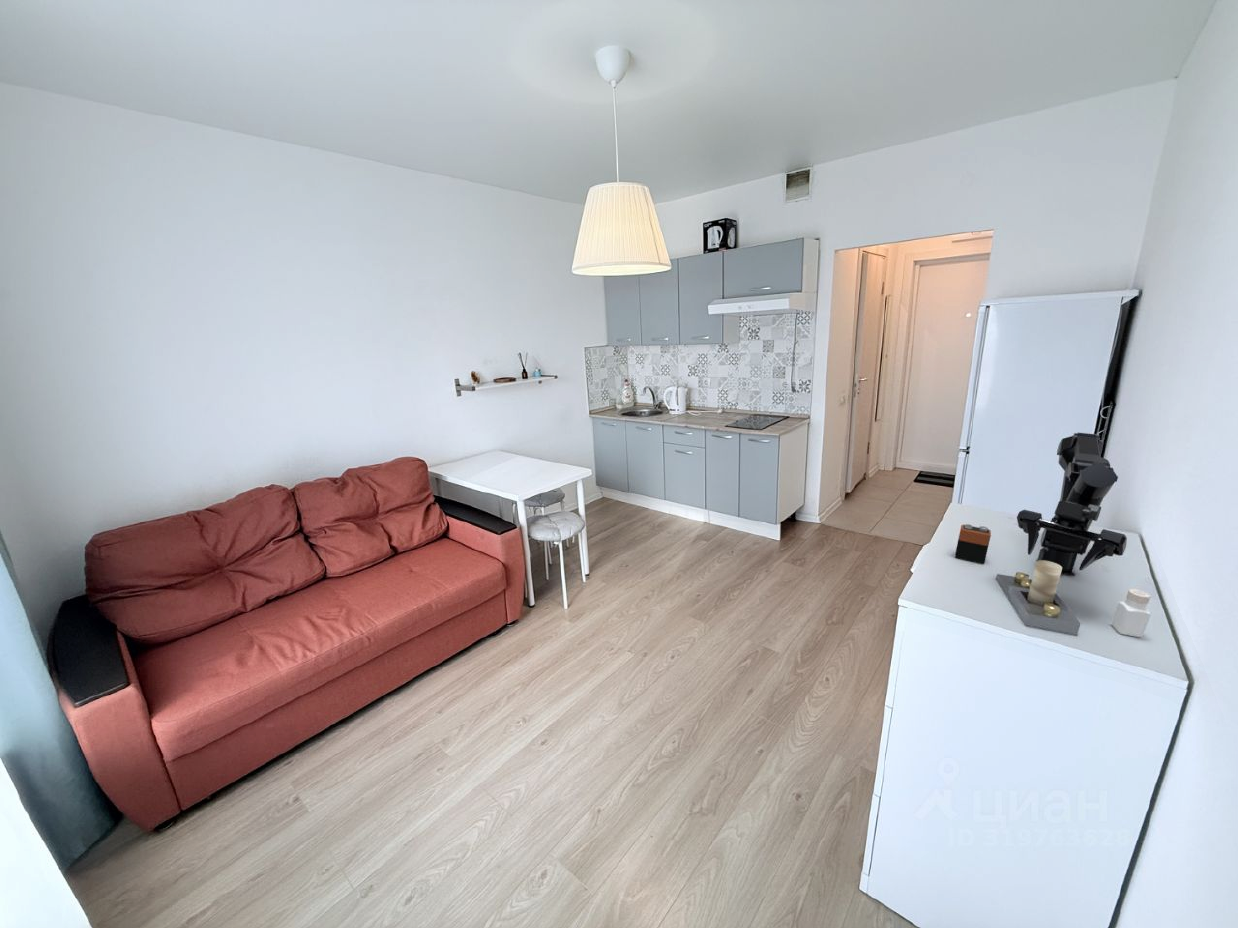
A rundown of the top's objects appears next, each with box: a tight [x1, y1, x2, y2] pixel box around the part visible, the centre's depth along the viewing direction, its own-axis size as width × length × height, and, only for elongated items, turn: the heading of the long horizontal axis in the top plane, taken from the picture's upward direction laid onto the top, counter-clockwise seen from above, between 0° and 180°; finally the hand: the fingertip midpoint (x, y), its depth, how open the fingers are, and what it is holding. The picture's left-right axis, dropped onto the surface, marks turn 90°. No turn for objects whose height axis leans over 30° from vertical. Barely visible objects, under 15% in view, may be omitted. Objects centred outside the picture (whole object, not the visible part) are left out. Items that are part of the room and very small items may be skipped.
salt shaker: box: [1111, 588, 1152, 638], centre depth 103 cm, size 4×4×10 cm
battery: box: [955, 523, 992, 565], centre depth 136 cm, size 4×7×10 cm, turn 54°
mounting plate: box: [995, 571, 1081, 636], centre depth 114 cm, size 9×22×5 cm, turn 157°
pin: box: [1027, 560, 1062, 606], centre depth 110 cm, size 4×4×12 cm
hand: (1053, 561), depth 110 cm, fingers open, 9 cm apart
